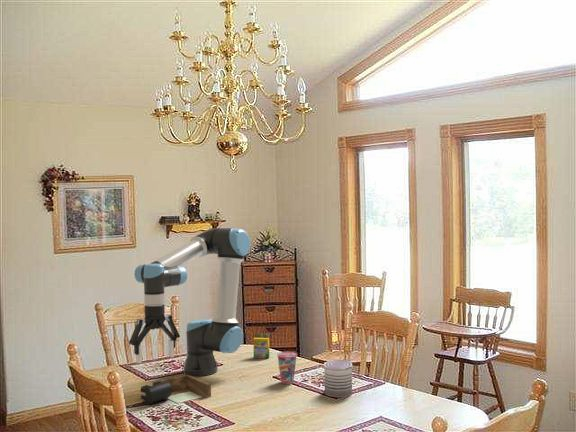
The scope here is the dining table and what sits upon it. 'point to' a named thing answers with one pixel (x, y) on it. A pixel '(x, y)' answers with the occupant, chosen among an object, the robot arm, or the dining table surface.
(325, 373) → the can
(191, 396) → the pad
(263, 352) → the crayon box
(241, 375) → the dining table surface
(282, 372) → the cup
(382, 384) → the dining table surface
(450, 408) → the dining table surface
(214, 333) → the robot arm
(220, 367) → the dining table surface
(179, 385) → the brown l-shaped piece
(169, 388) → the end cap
